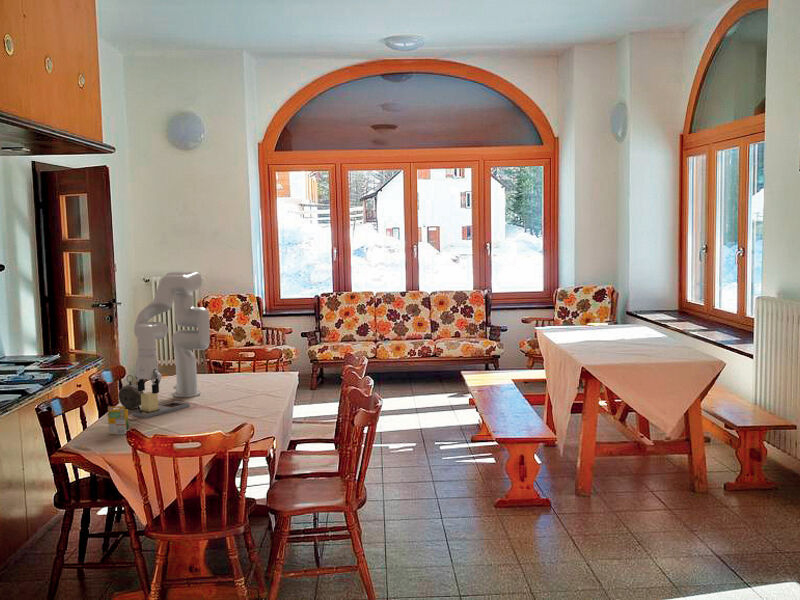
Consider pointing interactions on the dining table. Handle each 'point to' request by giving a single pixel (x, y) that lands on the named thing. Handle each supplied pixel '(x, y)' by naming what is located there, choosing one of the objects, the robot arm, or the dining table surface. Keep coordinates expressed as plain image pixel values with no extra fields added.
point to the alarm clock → (130, 396)
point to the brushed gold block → (149, 402)
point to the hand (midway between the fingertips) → (148, 392)
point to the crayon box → (118, 420)
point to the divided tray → (162, 409)
